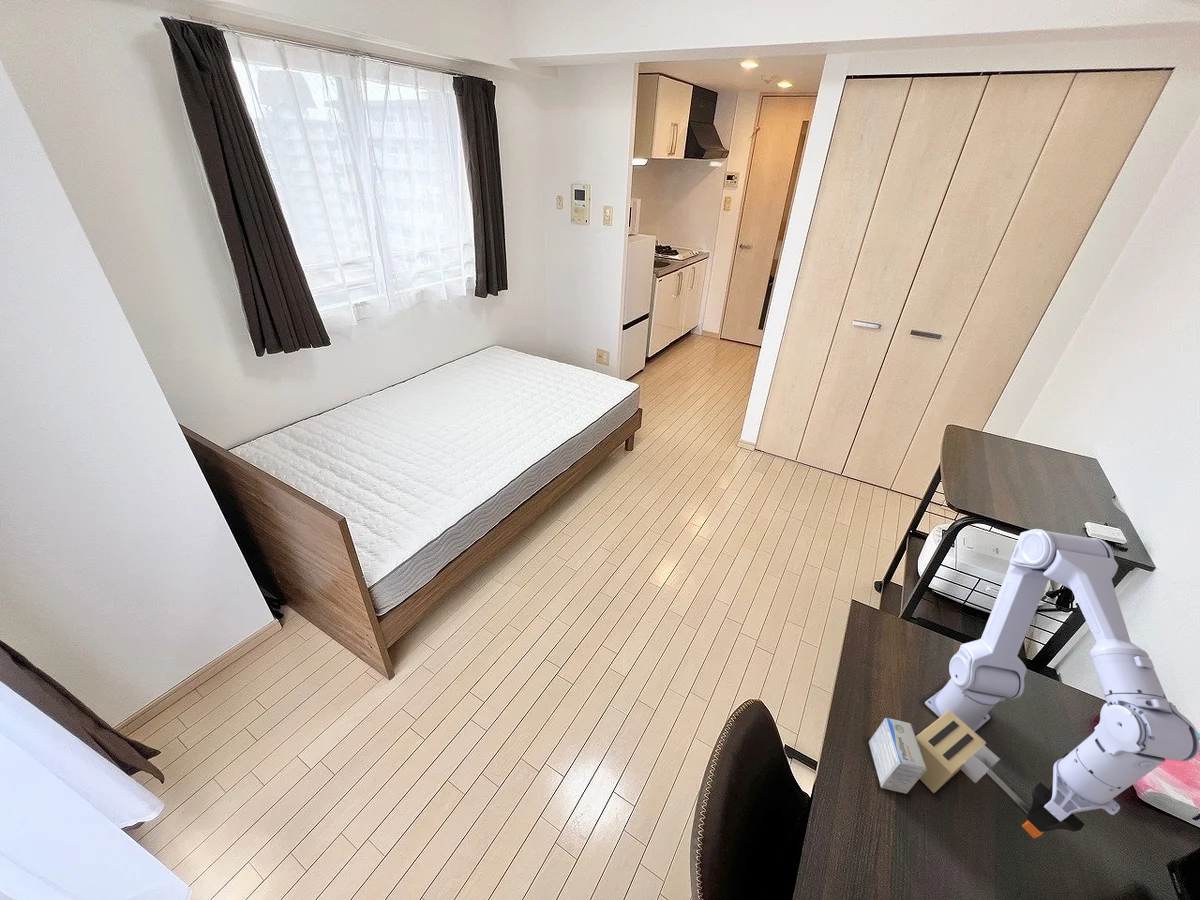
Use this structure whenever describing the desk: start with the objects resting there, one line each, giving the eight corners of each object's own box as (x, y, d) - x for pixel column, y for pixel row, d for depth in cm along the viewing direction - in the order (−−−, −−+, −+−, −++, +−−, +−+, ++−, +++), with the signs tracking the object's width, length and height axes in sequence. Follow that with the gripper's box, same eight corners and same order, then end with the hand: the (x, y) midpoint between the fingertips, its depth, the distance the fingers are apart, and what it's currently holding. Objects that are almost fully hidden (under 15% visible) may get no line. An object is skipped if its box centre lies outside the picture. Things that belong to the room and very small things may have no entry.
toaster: (932, 730, 92) (955, 702, 87) (982, 776, 86) (1010, 749, 81) (898, 757, 87) (920, 729, 82) (948, 809, 81) (976, 782, 76)
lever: (980, 755, 82) (986, 751, 81) (1047, 822, 75) (1055, 818, 74) (965, 769, 80) (971, 764, 79) (1033, 839, 73) (1041, 835, 72)
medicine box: (906, 795, 82) (928, 770, 78) (879, 788, 83) (899, 763, 78) (892, 747, 89) (912, 722, 84) (867, 741, 89) (885, 716, 85)
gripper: (1118, 825, 59) (1055, 867, 67) (1160, 768, 66) (1098, 812, 73) (1052, 770, 65) (1000, 814, 72) (1097, 721, 71) (1045, 767, 78)
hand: (1046, 810), depth 73 cm, fingers open, 7 cm apart
